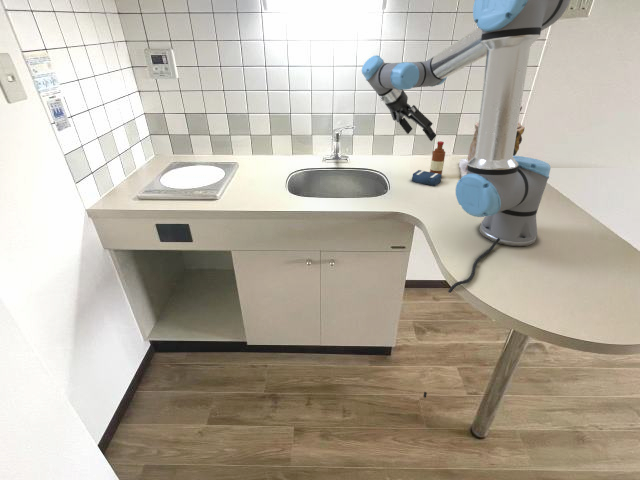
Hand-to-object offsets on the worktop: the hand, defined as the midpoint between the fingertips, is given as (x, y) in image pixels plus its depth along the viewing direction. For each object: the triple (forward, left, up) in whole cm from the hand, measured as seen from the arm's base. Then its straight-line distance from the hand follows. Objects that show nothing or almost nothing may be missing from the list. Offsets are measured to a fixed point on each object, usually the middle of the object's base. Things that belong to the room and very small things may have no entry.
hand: (421, 134), depth 136 cm
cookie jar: (+28, -22, -19) cm, 40 cm away
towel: (+2, -4, -19) cm, 20 cm away
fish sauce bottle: (+10, -5, -19) cm, 22 cm away
